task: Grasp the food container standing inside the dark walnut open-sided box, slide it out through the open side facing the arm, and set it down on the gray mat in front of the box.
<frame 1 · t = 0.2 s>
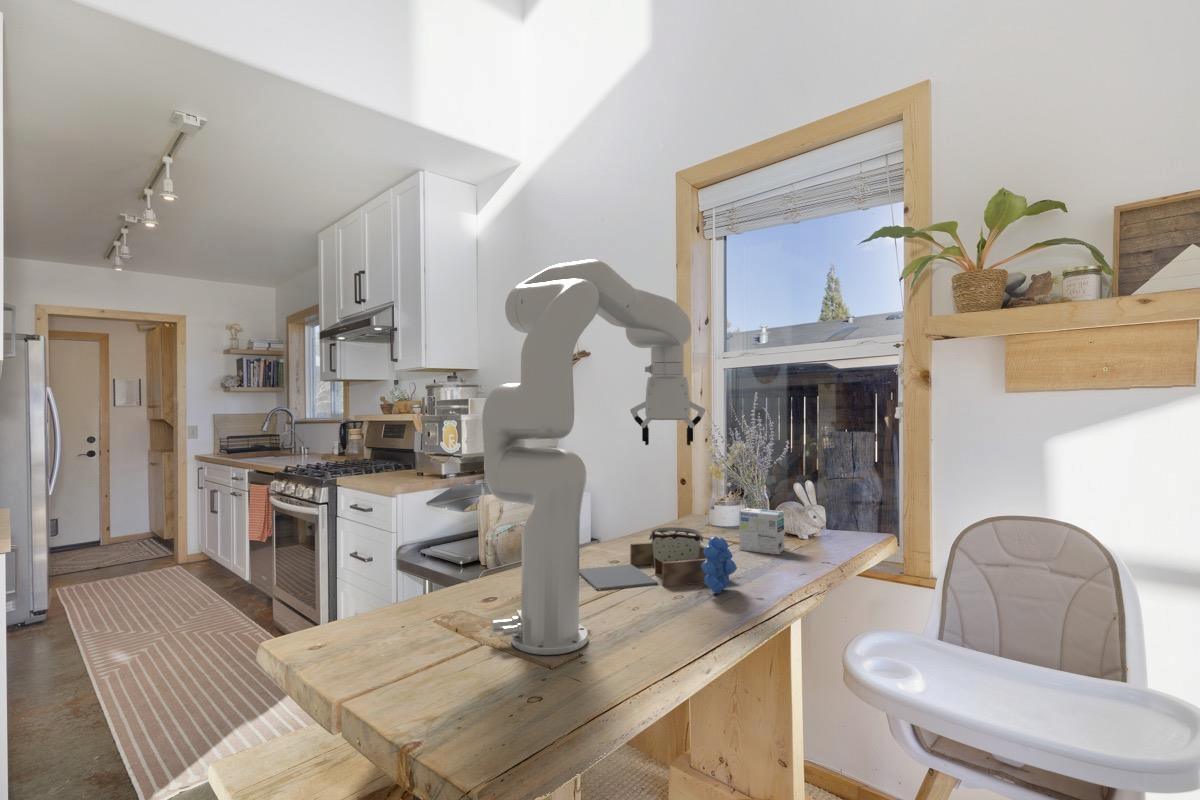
hand: (667, 444, 137), 30 cm above the table, tool pointing down, fingers open, 9 cm apart
grapes: (721, 595, 122), on the table
open side box: (675, 572, 138), on the table
light bulb box: (761, 551, 160), on the table
food container: (675, 573, 138), on the table
gray mat: (615, 577, 133), on the table
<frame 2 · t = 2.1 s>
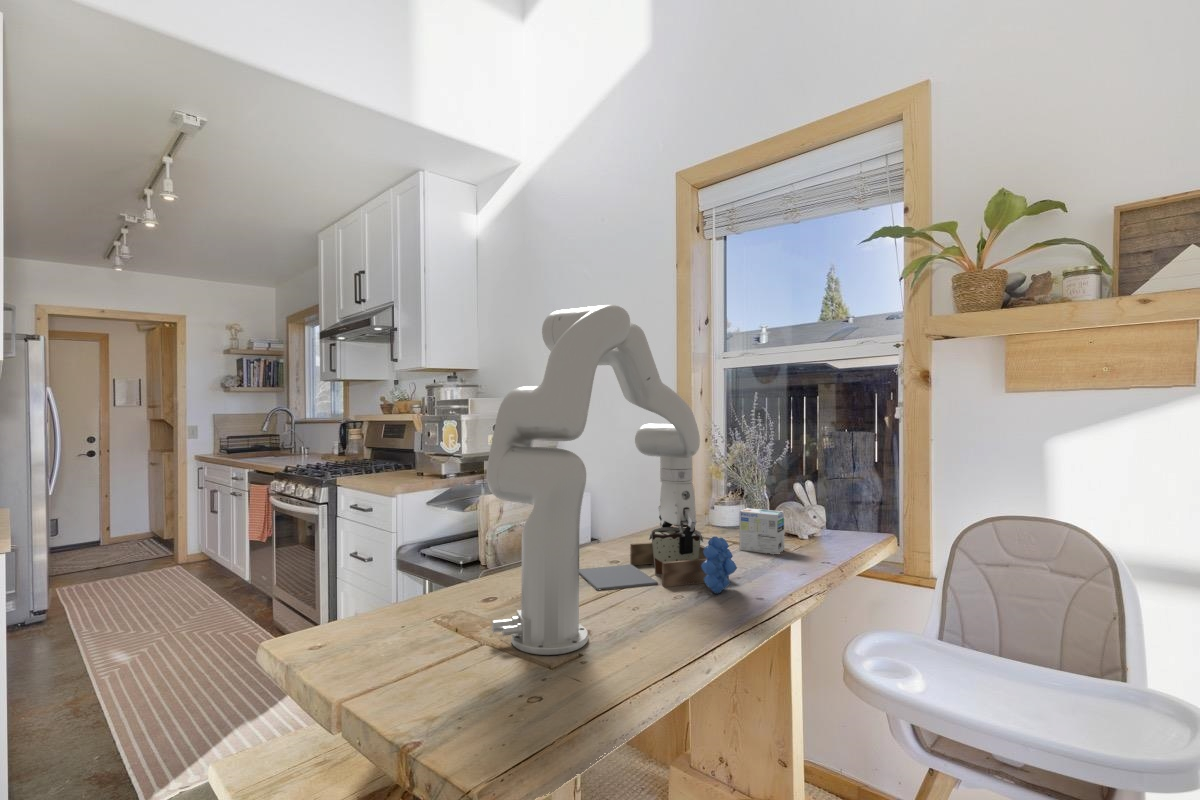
hand: (676, 548, 139), 5 cm above the table, tool pointing down, fingers open, 9 cm apart
nothing on the table moved.
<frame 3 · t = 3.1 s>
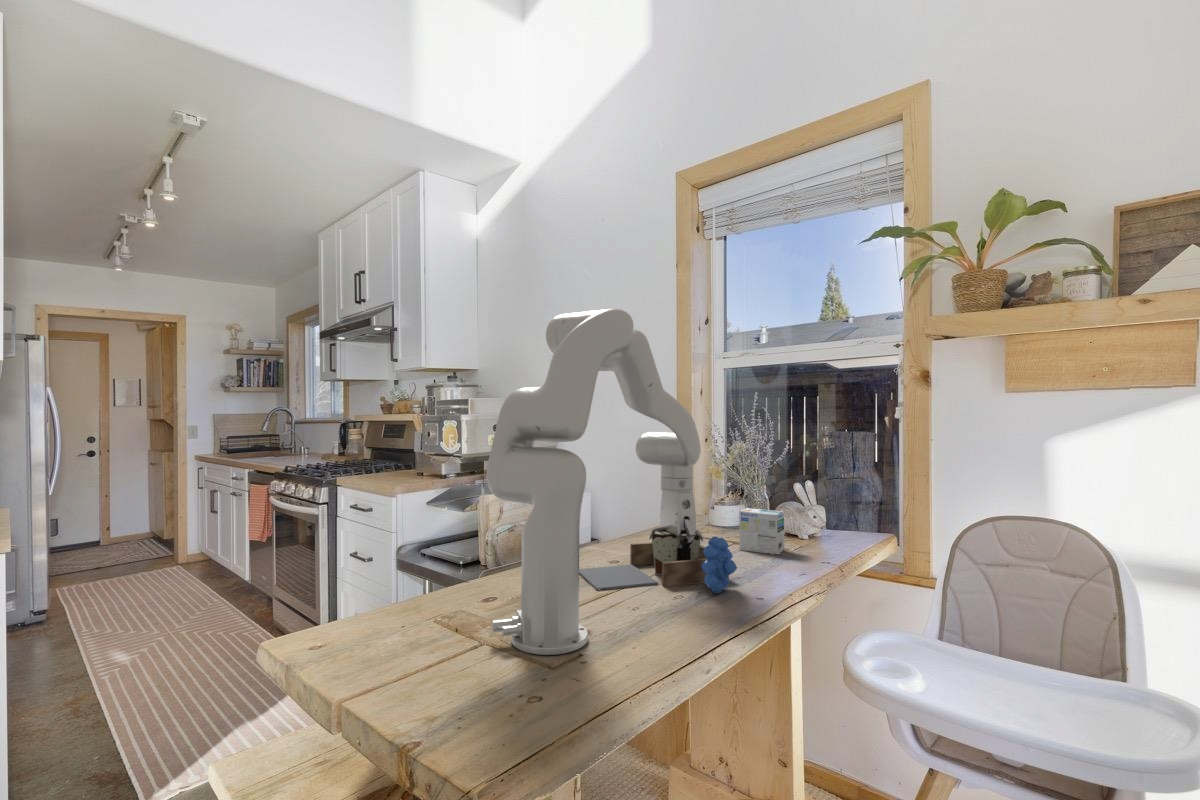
hand: (676, 560, 138), 3 cm above the table, tool pointing down, fingers closed on food container, 6 cm apart
food container: (674, 572, 139), on the table, touching gripper
everything else where it was.
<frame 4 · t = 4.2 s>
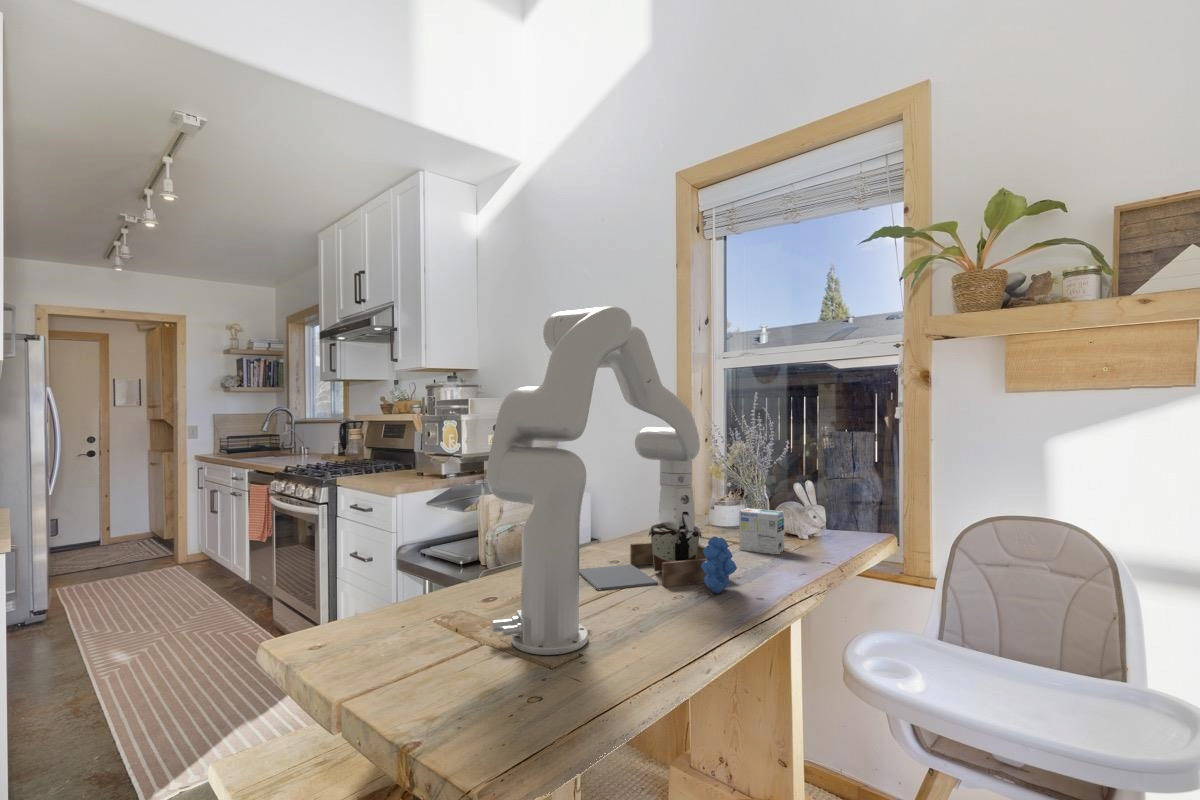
hand: (674, 556, 138), 4 cm above the table, tool pointing down, fingers closed on food container, 6 cm apart
food container: (673, 568, 139), point 1 cm above the table, touching gripper
everything else where it was.
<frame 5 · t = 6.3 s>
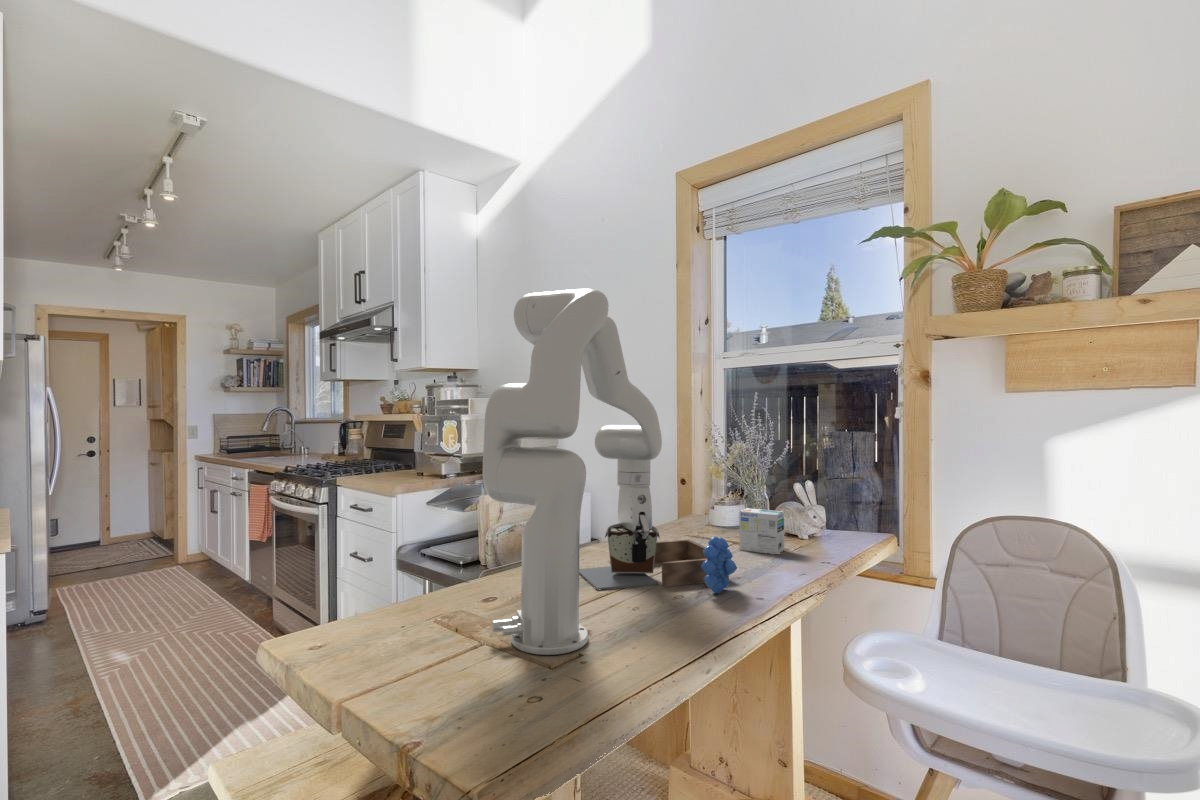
hand: (633, 557, 135), 4 cm above the table, tool pointing down, fingers closed on food container, 6 cm apart
food container: (631, 569, 136), point 1 cm above the table, touching gripper
everything else where it was.
when the fingers open (4 cm above the table, at t = 8.1 s): food container stays where it is, resting on gray mat.
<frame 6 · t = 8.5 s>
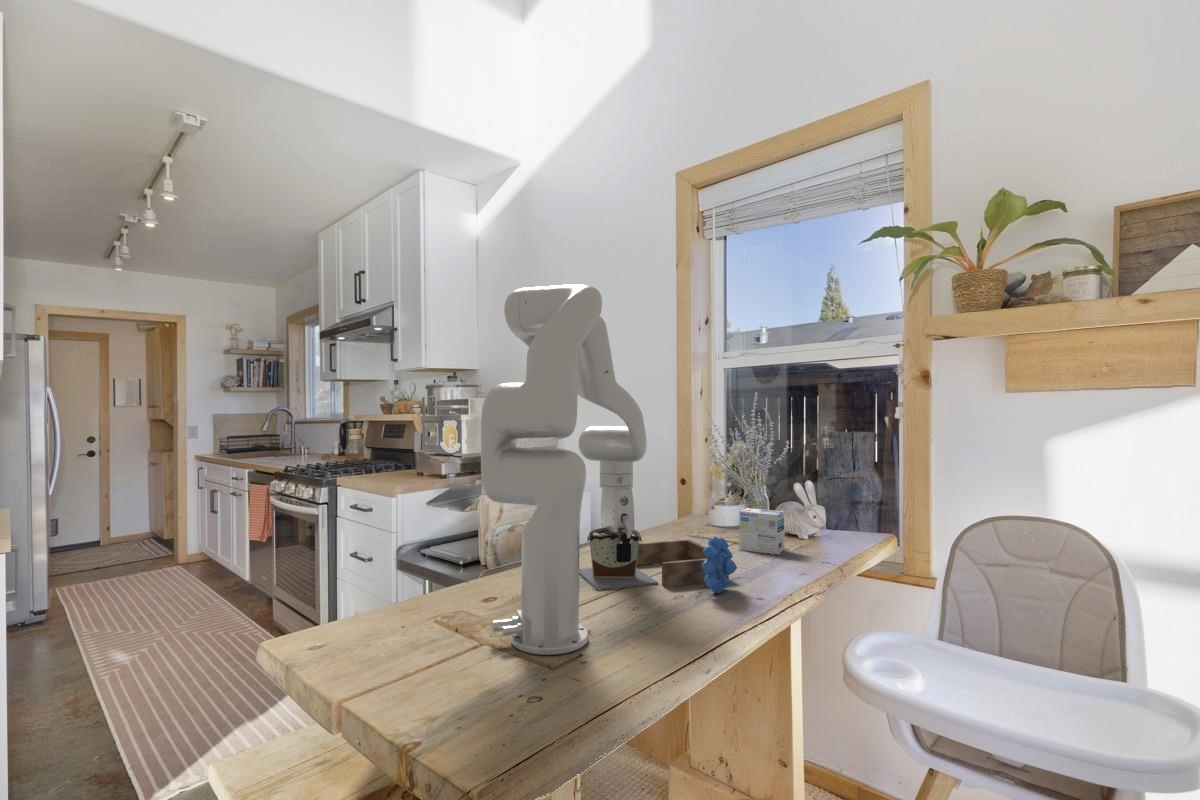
hand: (615, 556, 133), 5 cm above the table, tool pointing down, fingers open, 9 cm apart
food container: (613, 574, 135), resting on gray mat, touching gripper
everything else where it was.
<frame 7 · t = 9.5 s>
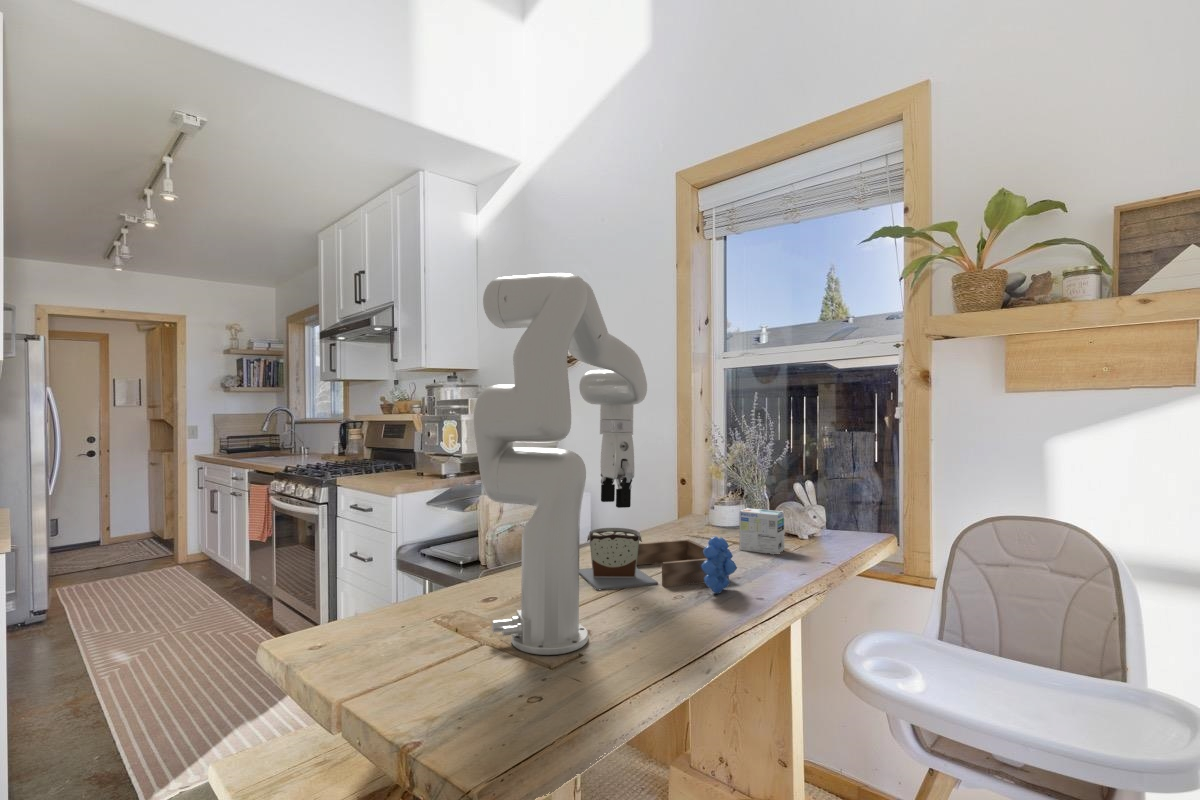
hand: (615, 504, 133), 17 cm above the table, tool pointing down, fingers open, 9 cm apart
food container: (613, 574, 135), resting on gray mat
everything else where it was.
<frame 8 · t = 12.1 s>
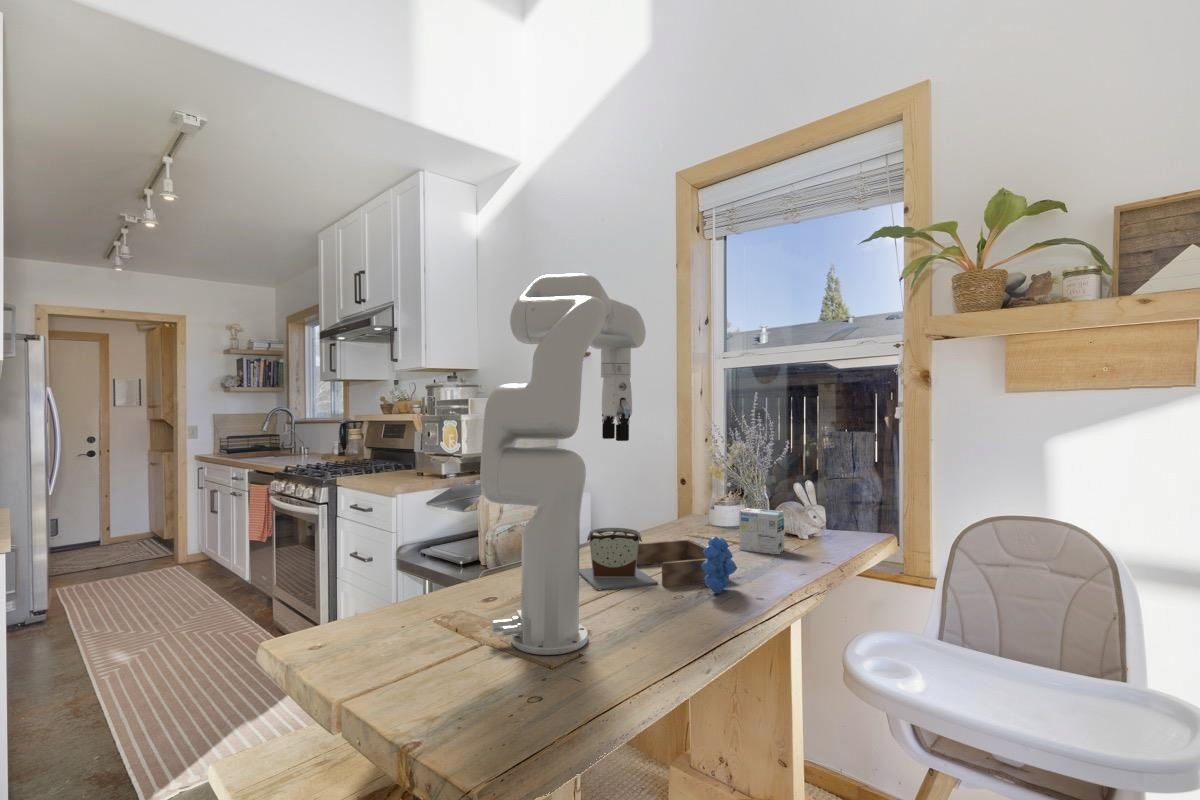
hand: (615, 439, 149), 30 cm above the table, tool pointing down, fingers open, 9 cm apart
nothing on the table moved.
at the end: food container inside the target area on the gray mat (1.4 cm from its centre), point 0.3 cm above the gray mat's base; food container tilted 0°; the gripper is holding nothing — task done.
